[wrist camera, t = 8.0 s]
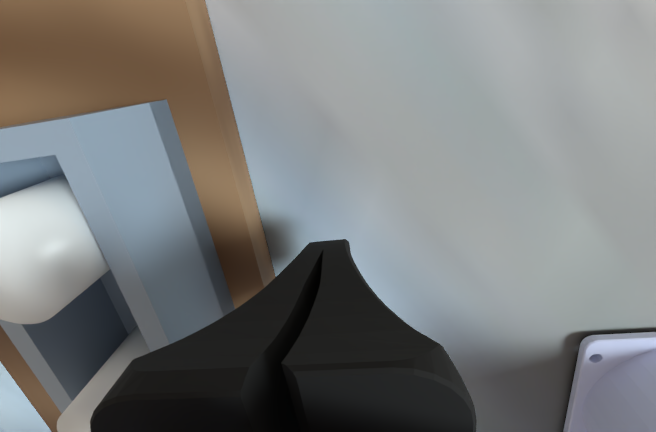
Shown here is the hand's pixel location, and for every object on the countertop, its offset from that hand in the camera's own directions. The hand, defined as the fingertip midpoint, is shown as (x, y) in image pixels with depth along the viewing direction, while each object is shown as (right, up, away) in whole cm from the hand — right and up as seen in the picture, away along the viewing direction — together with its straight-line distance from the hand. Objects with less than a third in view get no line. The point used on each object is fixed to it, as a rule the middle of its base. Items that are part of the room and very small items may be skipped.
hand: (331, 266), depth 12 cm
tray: (-7, 0, +2) cm, 7 cm away
